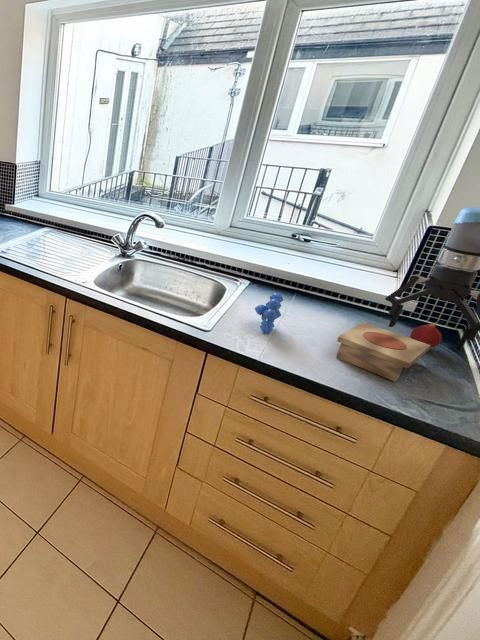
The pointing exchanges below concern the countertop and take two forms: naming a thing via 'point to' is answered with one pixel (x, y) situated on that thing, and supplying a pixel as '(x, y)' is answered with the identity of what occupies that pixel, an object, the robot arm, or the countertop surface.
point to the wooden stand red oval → (379, 350)
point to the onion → (427, 335)
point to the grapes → (269, 312)
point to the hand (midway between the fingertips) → (423, 336)
